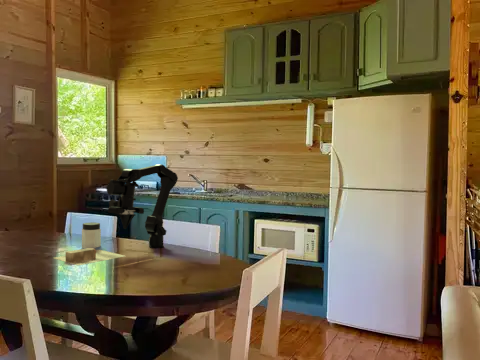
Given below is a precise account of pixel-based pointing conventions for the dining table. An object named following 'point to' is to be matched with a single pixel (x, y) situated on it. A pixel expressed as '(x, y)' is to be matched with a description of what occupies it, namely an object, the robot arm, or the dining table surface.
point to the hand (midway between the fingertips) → (124, 228)
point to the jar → (91, 235)
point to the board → (100, 256)
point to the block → (80, 255)
